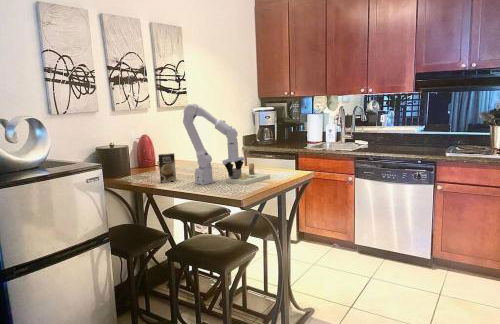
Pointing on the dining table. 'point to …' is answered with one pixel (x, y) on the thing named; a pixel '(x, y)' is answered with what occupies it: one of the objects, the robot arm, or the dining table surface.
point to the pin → (251, 169)
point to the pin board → (248, 178)
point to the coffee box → (167, 167)
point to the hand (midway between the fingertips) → (234, 175)
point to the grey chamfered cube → (236, 173)
